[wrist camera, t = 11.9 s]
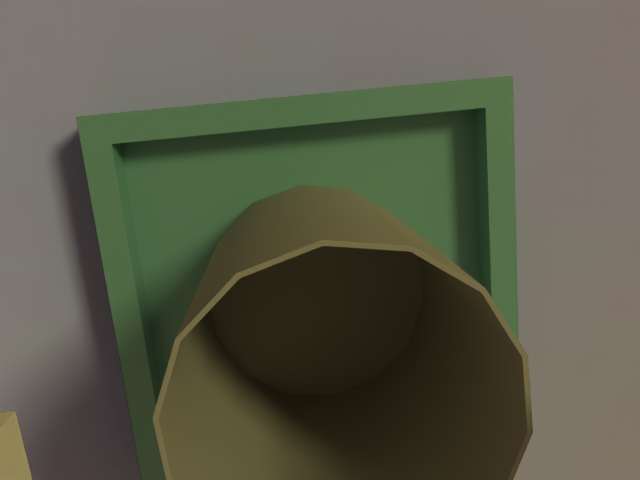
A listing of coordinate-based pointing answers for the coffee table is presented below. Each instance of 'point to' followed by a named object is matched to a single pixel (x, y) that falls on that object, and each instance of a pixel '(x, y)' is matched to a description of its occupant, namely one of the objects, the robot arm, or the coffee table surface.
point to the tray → (279, 175)
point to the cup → (340, 355)
